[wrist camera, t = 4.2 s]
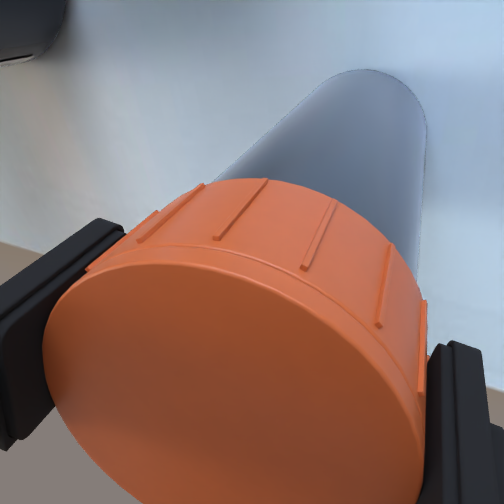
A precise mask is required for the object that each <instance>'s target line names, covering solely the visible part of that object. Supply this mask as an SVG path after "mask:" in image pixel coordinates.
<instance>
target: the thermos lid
mask: <svg viewBox="0 0 504 504" xmlns="http://www.w3.org/2000/svg"><path fill="white" fill-rule="evenodd" d="M395 247H396V246H395V245H394V244H393V243H390V242H389V241H388V240H387V238H386V237H385V236H384V235H383V234H382V233H381V232H380V231H378V230H377V229H376V228H375V227H374V226H373V225H372V224H371V223H369V222H368V221H367V220H366V219H365V218H363V217H362V216H360V215H359V214H357V213H356V212H354V211H353V210H352V209H350V208H349V207H347V206H346V205H344V204H342V203H340V202H338V200H336V199H334V198H333V199H332V198H330V197H328V196H326V195H324V194H322V193H319V192H317V191H314V190H311V189H308V188H306V187H303V186H300V185H295V184H291V183H287V182H283V181H278V180H268V178H262V179H259V178H243V179H230V180H224V181H217V182H213V183H210V184H207V185H204V183H201V184H199V185H198V186H197V187H196V188H194V189H193V190H191V191H189V192H187V193H185V194H183V195H181V196H180V197H178V198H177V199H175V200H174V201H173V202H171V203H170V204H168V205H167V206H166V207H165V208H163V209H162V210H161V211H160V212H158V211H157V210H156V211H154V212H153V213H152V214H151V215H150V216H148V217H147V218H146V219H145V220H144V221H142V222H141V223H140V224H139V225H137V226H136V227H135V228H134V229H133V230H131V231H130V232H129V233H128V234H127V235H125V236H124V237H123V238H122V239H120V240H119V241H118V242H117V243H116V244H114V245H113V246H112V247H111V248H110V249H108V250H107V251H106V252H105V253H103V254H102V255H101V256H100V257H99V258H97V259H96V260H95V261H94V262H93V263H91V264H90V265H89V266H88V267H87V268H86V269H85V270H86V271H87V272H88V273H86V274H85V275H84V276H82V277H81V278H80V279H79V280H78V281H76V282H75V283H74V284H73V285H72V286H71V287H70V288H69V289H68V290H67V291H66V292H65V293H64V294H63V295H62V296H61V297H60V298H59V300H58V301H57V303H56V305H55V306H54V308H53V310H52V311H51V313H50V316H49V318H48V321H47V324H46V327H45V330H44V336H43V343H42V353H43V365H44V372H45V378H46V382H47V385H48V388H49V391H50V394H51V397H52V399H53V401H54V403H55V406H56V408H57V410H58V412H59V414H60V416H61V417H62V419H63V421H64V422H65V424H66V426H67V428H68V429H69V430H70V432H71V433H72V435H73V436H74V437H75V439H76V440H77V442H78V443H79V444H80V446H81V447H82V448H83V449H84V450H85V452H86V453H87V454H88V455H89V456H90V457H91V459H92V460H93V461H94V462H95V463H96V464H97V465H98V466H99V467H100V468H101V469H102V470H103V471H104V472H105V473H106V474H107V475H108V476H109V477H110V478H112V479H113V480H114V481H115V482H116V483H117V484H118V485H119V486H121V487H122V488H123V489H124V490H126V491H127V492H128V493H130V494H131V495H132V496H133V497H135V498H136V499H137V500H139V501H140V502H142V503H143V504H416V503H417V501H418V498H419V496H420V492H421V488H422V485H423V475H424V453H425V415H426V377H427V362H428V360H429V358H430V356H428V355H427V330H428V326H427V301H426V300H423V299H422V296H421V292H420V289H419V287H418V285H417V283H416V281H415V278H414V276H413V274H412V272H411V270H410V269H409V267H408V266H407V264H406V263H405V261H404V260H403V258H402V257H401V255H400V254H399V252H398V251H397V250H396V249H395Z"/></svg>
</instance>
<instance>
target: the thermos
mask: <svg viewBox="0 0 504 504" xmlns="http://www.w3.org/2000/svg"><path fill="white" fill-rule="evenodd" d="M426 138H427V127H426V120H425V116H424V113H423V109H422V107H421V105H420V103H419V101H418V100H417V98H416V97H415V95H414V94H413V93H412V91H411V90H410V89H409V88H408V87H407V86H406V85H404V84H403V83H402V82H401V81H399V80H397V79H396V78H394V77H392V76H390V75H388V74H386V73H382V72H379V71H374V70H351V71H347V72H343V73H340V74H337V75H335V76H333V77H331V78H329V79H328V80H326V81H324V82H323V83H322V84H320V85H319V86H318V87H317V88H316V89H315V90H313V91H312V92H311V93H310V94H309V95H308V96H307V97H306V98H305V99H303V100H302V101H301V102H300V103H299V104H298V105H297V106H296V107H295V108H294V109H292V110H291V111H290V112H289V113H288V114H287V115H286V116H285V117H284V118H282V119H281V120H280V121H279V122H278V123H277V124H276V125H275V126H274V127H272V128H271V129H270V130H269V131H268V132H267V133H266V134H265V135H264V136H263V137H261V138H260V139H259V140H258V141H257V142H256V143H255V144H254V145H253V146H251V147H250V148H249V149H248V150H247V151H246V152H245V153H244V154H243V155H241V156H240V157H239V158H238V159H237V160H236V161H235V162H234V163H233V164H232V165H230V166H229V167H228V168H227V169H226V170H225V171H224V172H223V173H222V174H220V175H219V176H218V177H217V178H216V179H215V180H214V181H213V182H217V181H224V180H230V179H243V178H259V179H262V178H268V180H278V181H283V182H287V183H291V184H295V185H300V186H303V187H306V188H308V189H311V190H314V191H317V192H319V193H322V194H324V195H326V196H328V197H330V198H332V199H333V198H334V199H336V200H338V202H340V203H342V204H344V205H346V206H347V207H349V208H350V209H352V210H353V211H354V212H356V213H357V214H359V215H360V216H362V217H363V218H365V219H366V220H367V221H368V222H369V223H371V224H372V225H373V226H374V227H375V228H376V229H377V230H378V231H380V232H381V233H382V234H383V235H384V236H385V237H386V238H387V240H388V241H389V242H390V243H393V244H394V245H395V246H396V247H395V249H396V250H397V251H398V252H399V254H400V255H401V257H402V258H403V260H404V261H405V263H406V264H407V266H408V267H409V269H410V270H411V272H412V274H413V276H414V278H415V281H416V283H417V274H418V259H419V244H420V229H421V214H422V198H423V183H424V168H425V153H426ZM213 182H212V183H213Z"/></svg>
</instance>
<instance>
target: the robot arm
mask: <svg viewBox="0 0 504 504" xmlns="http://www.w3.org/2000/svg"><path fill="white" fill-rule="evenodd" d="M125 235H127V234H126V233H124V229H123V227H122V226H121V225H119V224H116V223H113V222H110V221H107V220H104V219H101V218H97V219H95V220H93V221H92V222H90V223H89V224H88V225H86V226H85V227H83V228H82V229H80V230H79V231H78V232H76V233H75V234H73V235H72V236H70V237H69V238H68V239H66V240H65V241H63V242H62V243H60V244H59V245H58V246H56V247H55V248H53V249H52V250H51V251H49V252H48V253H46V254H45V255H43V256H42V257H41V258H39V259H38V260H36V261H35V262H34V263H32V264H31V265H29V266H28V267H26V268H25V269H23V270H22V271H21V272H19V273H18V274H16V275H15V276H13V277H12V278H11V279H9V280H8V281H7V282H5V283H4V284H2V285H1V286H0V449H2V450H4V451H7V450H8V449H9V448H10V447H11V446H12V445H13V443H15V441H16V440H17V439H19V440H23V439H25V438H27V437H28V436H29V435H30V434H31V433H32V432H33V430H34V429H35V428H36V427H37V426H38V425H39V424H40V423H41V422H42V420H43V419H44V418H45V417H46V416H47V415H48V414H49V413H50V411H51V410H52V409H53V408H54V407H55V403H54V401H53V399H52V397H51V394H50V391H49V388H48V385H47V382H46V378H45V372H44V365H43V353H42V343H43V336H44V330H45V327H46V324H47V321H48V318H49V316H50V313H51V311H52V310H53V308H54V306H55V305H56V303H57V301H58V300H59V298H60V297H61V296H62V295H63V294H64V293H65V292H66V291H67V290H68V289H69V288H70V287H71V286H72V285H73V284H74V283H75V282H76V281H78V280H79V279H80V278H81V277H82V276H84V275H85V274H86V273H88V272H87V271H86V270H85V269H86V268H87V267H88V266H89V265H90V264H91V263H93V262H94V261H95V260H96V259H97V258H99V257H100V256H101V255H102V254H103V253H105V252H106V251H107V250H108V249H110V248H111V247H112V246H113V245H114V244H116V243H117V242H118V241H119V240H120V239H122V238H123V237H124V236H125ZM416 504H504V430H503V428H502V427H500V426H497V425H494V424H492V423H490V419H489V411H488V402H487V394H486V385H485V377H484V369H483V360H482V354H481V351H480V350H479V349H476V348H473V347H470V346H467V345H465V344H462V343H459V342H456V341H453V340H452V341H450V342H449V343H448V344H447V346H446V345H443V344H440V343H439V344H438V345H437V346H436V348H435V349H434V351H433V353H432V355H431V357H430V358H429V360H428V362H427V377H426V415H425V453H424V475H423V485H422V488H421V492H420V496H419V498H418V501H417V503H416Z"/></svg>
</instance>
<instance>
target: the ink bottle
mask: <svg viewBox="0 0 504 504" xmlns="http://www.w3.org/2000/svg"><path fill="white" fill-rule="evenodd" d="M65 2H66V0H0V67H5V66H10V65H15V64H19V63H24V62H27V61H30V60H33V59H35V58H37V57H39V56H40V55H41V54H43V53H44V52H45V51H46V50H47V49H48V48H49V47H50V45H51V44H52V43H53V41H54V39H55V38H56V36H57V34H58V31H59V29H60V26H61V23H62V20H63V15H64V10H65Z"/></svg>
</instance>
